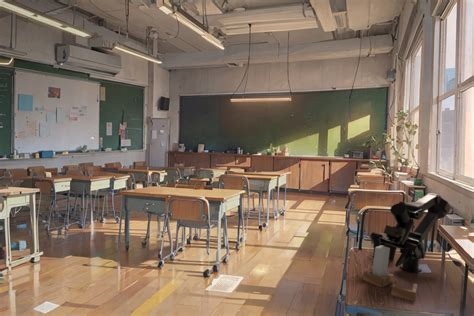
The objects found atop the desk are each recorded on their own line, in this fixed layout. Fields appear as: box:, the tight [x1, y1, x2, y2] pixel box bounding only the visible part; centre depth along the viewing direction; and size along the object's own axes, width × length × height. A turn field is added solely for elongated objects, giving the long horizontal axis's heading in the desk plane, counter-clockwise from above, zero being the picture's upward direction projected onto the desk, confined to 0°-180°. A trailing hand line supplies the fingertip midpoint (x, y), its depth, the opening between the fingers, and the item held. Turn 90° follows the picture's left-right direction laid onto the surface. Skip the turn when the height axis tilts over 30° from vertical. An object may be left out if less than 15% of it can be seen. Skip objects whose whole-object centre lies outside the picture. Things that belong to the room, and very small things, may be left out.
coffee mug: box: [379, 232, 398, 261], centre depth 178 cm, size 12×9×10 cm
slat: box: [372, 245, 390, 277], centre depth 148 cm, size 4×4×13 cm
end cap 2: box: [390, 278, 418, 302], centre depth 138 cm, size 8×8×4 cm
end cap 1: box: [362, 268, 394, 288], centre depth 148 cm, size 8×8×4 cm
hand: (384, 262), depth 149 cm, fingers open, 9 cm apart
